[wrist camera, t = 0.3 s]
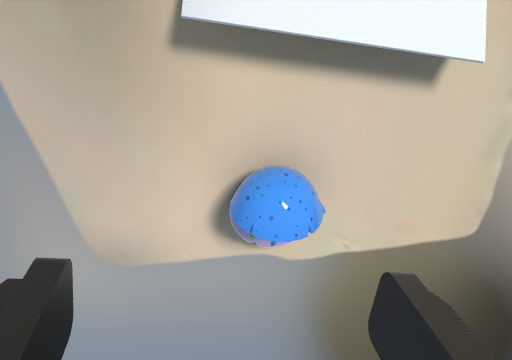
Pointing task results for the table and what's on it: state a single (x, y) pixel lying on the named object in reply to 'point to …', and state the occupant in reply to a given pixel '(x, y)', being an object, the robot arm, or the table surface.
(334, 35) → the z bracket
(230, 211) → the blue rounded hollow shell
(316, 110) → the table surface
